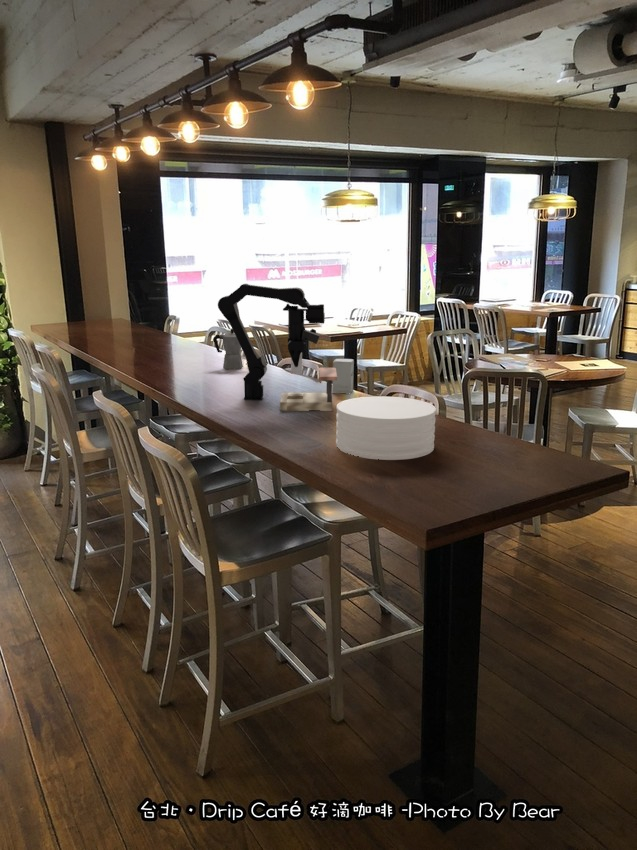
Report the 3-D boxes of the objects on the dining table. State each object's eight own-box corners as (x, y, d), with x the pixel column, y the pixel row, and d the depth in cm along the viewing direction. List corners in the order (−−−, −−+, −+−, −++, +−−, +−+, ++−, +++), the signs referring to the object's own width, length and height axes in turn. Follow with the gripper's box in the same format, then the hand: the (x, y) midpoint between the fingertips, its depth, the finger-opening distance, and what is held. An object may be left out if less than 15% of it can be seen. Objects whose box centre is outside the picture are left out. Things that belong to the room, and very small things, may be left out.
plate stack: (318, 440, 201) (318, 402, 198) (395, 428, 214) (397, 392, 211) (371, 466, 177) (372, 423, 174) (454, 451, 190) (456, 411, 188)
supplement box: (350, 394, 262) (351, 361, 259) (331, 393, 263) (332, 361, 260) (353, 390, 269) (354, 358, 266) (335, 389, 270) (335, 358, 267)
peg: (290, 373, 249) (290, 349, 246) (290, 371, 253) (290, 347, 250) (301, 373, 249) (301, 349, 247) (301, 371, 253) (301, 347, 250)
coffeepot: (246, 365, 322) (245, 327, 317) (248, 369, 313) (247, 330, 308) (213, 366, 319) (211, 328, 314) (214, 370, 310) (213, 330, 305)
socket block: (280, 411, 234) (279, 376, 231) (282, 399, 251) (282, 367, 248) (336, 411, 234) (337, 376, 231) (335, 400, 251) (335, 367, 248)
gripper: (319, 326, 237) (319, 370, 241) (317, 320, 255) (317, 361, 259) (287, 326, 237) (287, 370, 241) (287, 320, 255) (287, 361, 259)
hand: (296, 365), depth 250 cm, fingers closed on peg, 4 cm apart
